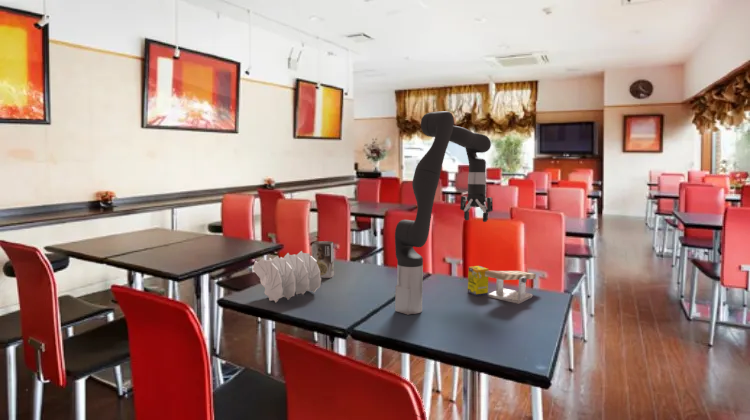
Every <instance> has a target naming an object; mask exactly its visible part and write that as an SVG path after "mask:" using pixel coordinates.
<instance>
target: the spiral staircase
mask: <svg viewBox="0 0 750 420" xmlns="http://www.w3.org/2000/svg"><path fill="white" fill-rule="evenodd" d="M316 262H317V261H316V260H315V259H314V258H313V256H312V255H311V254H310V253H308V252H307V253H306V252H303V250H301V251H299V252H298V253H297V254H294V253H293V254H290V253H289V252H287V253H286V254H285V255H284V256H283V257H282V256H280V257H279V255H276V256H275V257H273V258H271V257H269V258H268V259H265V257H261V258H260V259H259V260H258V261H257V260H255V261H254V264H253V267H252V271H254V272H253V273H255V274H256V275H257V277H258V278H259V281H260V284H261V285H262V286H263V287H264V295H266V296H267V297H268V300H269V301H270V302H271V301H274V303H277V302H278V301H279V300H280V299H282V298H286V299H287V300H290V299H291V298H292V297H295V294H296V295H300V294H301V295H302V296H304V294H306V292H312V293H315V292H316V291H317V290H318V289H320V288H321V283H322V278H320V269H319V267H318V264H317V263H316Z"/></svg>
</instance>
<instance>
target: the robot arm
mask: <svg viewBox="0 0 750 420" xmlns="http://www.w3.org/2000/svg"><path fill="white" fill-rule="evenodd" d="M454 121H455V120H454V116H453V114H452V113H451V111H446V110H445V111H444V110H443V111H431V112H427V113H426V114H425V113H424V115H423V116H422V118H421V120H420V128H421V129H420V130H421V132H422V133H423V134H424V135H425V136H427V137H431V138H433V141H432V144H431V146H430V147H429V149H428V151H426V153H425V154H424V156H422V158H420V161H419V162H418V163H417V165H416V166H415V167H416V168H415V169H414V174H413V178H412V184H411V186H412V190H413V194H414V196H415V197H414V198H415V201H416V205H417V207H416V208H417V209H416V216H415V219H414V220H413V219H412V220H411V219H401V220H399V222H398V223H397V224H396V225H395V226H396V227H395V230H394V245H395V248H394V249H395V250H394V251H395V257H396V260H397V263H396V264H397V266H396V267H397V272H396V273H397V274H396V277H397V278H396V279H397V282H396V283H397V284H396V285H395V288H394V289H395V291H394V292H395V294H394V295H395V296H394V297H395V300H394V301H395V302H394V304H395V305H394V307H395V308H394V309H395V312H397V313H401V314H405V315H406V316H407V315H417V314H420V313H422V312H423V282H424V281H423V279H424V278H423V276H424V275H423V274H424V272H423V271H424V269H423V268H424V259H423V256H422V255H421V254H419V253H418V252H417V251H416V250H415V249H414V248H422V247H423V246H425V244H426V243H427V241H428V237H429V233H430V228H431V227H430V226H431V220H432V212H433V211H432V210H433V207H434V202H435V197H436V193H437V189H438V185H439V181H440V177H441V171H442V168H443V162H444V159H445V155H446V152H447V149H448V145H449V143H450V142H451V143H453V144H456V145H458V146H460V147H463V148H464V149H465V152H466V155H467V159H468V175H467V195H464V196H463V195H461V197H460V208H459V209H460V211H463V213H464V214H463V215H464V216H463V218H464V220H465V221H470V210H471V209H472V208H473V207H474V208H475V207H476V208H480V209H481V211H483V213H482V222H483V223H485V222H488V220H489V213H491V212H493V211H494V210H493V207H494V206H493V197H491V196H489V197H486V191H487V186H486V185H487V176H486V175H487V173H486V170H487V168H486V165H487V163H486V159H484V158H480V157H478V155H477V154H479V153H486V152H488V151H489V150H490V149H491V146H492V142H491V139H490V138H489V137H488V136H487V135H486V134H483V133H477V132H473V131H472V130H469V129H467V128H465V127H461V126H457V125H455V122H454ZM467 202H468V203H467ZM485 202H486V204H485Z"/></svg>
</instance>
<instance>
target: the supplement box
mask: <svg viewBox="0 0 750 420" xmlns="http://www.w3.org/2000/svg"><path fill="white" fill-rule="evenodd" d="M485 271H490V270H489V268H488V267H487V268H486V267H484V266H481V265H474V266H468V271H467V272H468V273H467V279H468V280H467V293H468V294H471V295H473V296H476V297H481V296H486V295H488V294H489V293H488V292H489V277H486V276H485Z"/></svg>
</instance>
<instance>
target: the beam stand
mask: <svg viewBox="0 0 750 420" xmlns="http://www.w3.org/2000/svg"><path fill="white" fill-rule="evenodd" d="M527 280H528V279H527V278H526V277H525V276H523V277H520V278H519V280H518V290H514V289H510V288H505V287H504V280H501V279H496V285H495V287H496V288H495V290H494V291H492V292H490V293H488V294H487V295H488V298H490V299H491V298H492V299H496V300H501V301H505V302H509V303H513V304H517V305H519V304H522V303H523V302H525V301H528V300H530V299H531V298H533V294H532V293H530V292H529V293H528V292H526V285H527Z"/></svg>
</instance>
